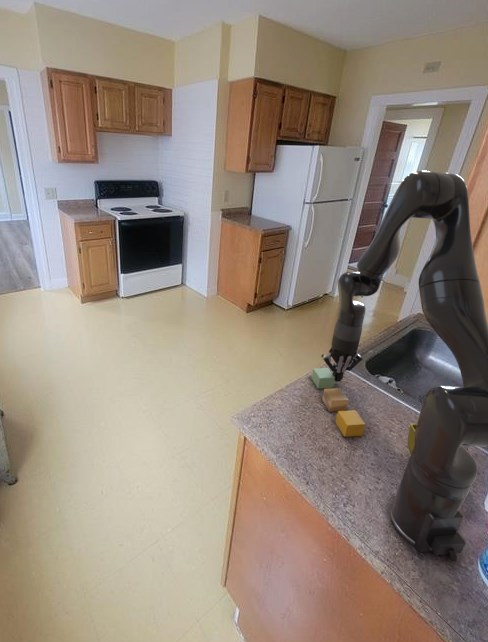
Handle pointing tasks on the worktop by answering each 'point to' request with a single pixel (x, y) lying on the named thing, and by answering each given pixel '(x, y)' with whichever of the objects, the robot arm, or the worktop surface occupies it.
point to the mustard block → (350, 423)
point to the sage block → (323, 378)
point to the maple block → (335, 399)
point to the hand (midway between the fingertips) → (336, 380)
